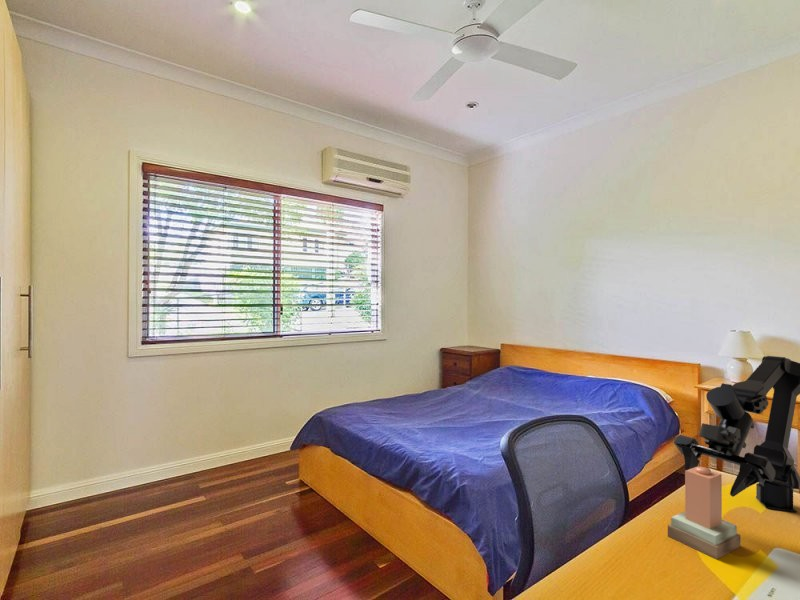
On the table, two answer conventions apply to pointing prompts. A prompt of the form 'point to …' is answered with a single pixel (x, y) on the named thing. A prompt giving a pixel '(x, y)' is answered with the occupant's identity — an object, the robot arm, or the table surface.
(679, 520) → the base brick
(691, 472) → the top brick
